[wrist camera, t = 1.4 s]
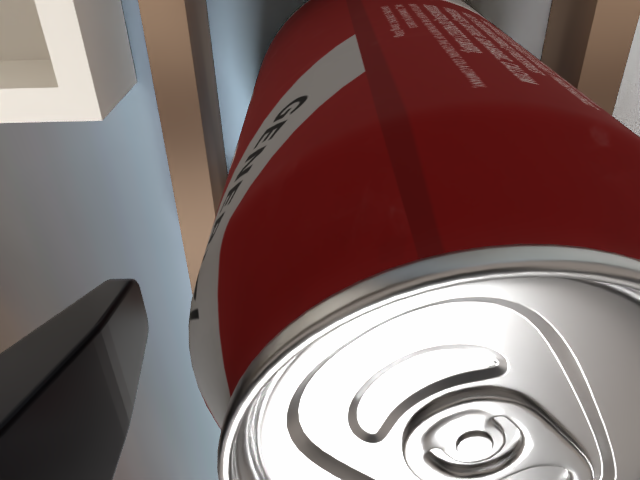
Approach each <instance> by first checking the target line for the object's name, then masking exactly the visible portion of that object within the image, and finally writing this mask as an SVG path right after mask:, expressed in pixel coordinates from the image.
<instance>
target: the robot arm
mask: <svg viewBox="0 0 640 480" xmlns="http://www.w3.org/2000/svg"><path fill="white" fill-rule="evenodd" d="M148 331H149V325H148V318H147V314H146V310H145V306H144V302H143V298H142V294H141V290H140V287H139V284H138V283H137V281H136V280H134V279H109V280H107V281H105V282H103V283H102V284H101V285H99V286H98V287H96V288H95V289H93V290H92V291H90V292H89V293H88V294H86V295H85V296H83V297H82V298H80V299H79V300H77V301H76V302H75V303H73V304H72V305H70V306H69V307H67V308H66V309H64V310H63V311H61V312H60V313H59V314H57V315H56V316H54V317H53V318H51V319H50V320H48V321H47V322H46V323H44V324H43V325H41V326H40V327H38V328H37V329H35V330H34V331H33V332H31V333H30V334H28V335H27V336H25V337H24V338H22V339H21V340H20V341H18V342H17V343H15V344H14V345H12V346H11V347H9V348H8V349H7V350H5V351H4V352H2V353H1V354H0V480H113V477H114V474H115V471H116V468H117V464H118V461H119V458H120V455H121V452H122V449H123V446H124V443H125V440H126V437H127V433H128V430H129V426H130V423H131V418H132V414H133V409H134V404H135V399H136V394H137V389H138V384H139V379H140V374H141V369H142V364H143V359H144V354H145V349H146V344H147V339H148Z"/></svg>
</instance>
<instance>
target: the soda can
mask: <svg viewBox="0 0 640 480" xmlns="http://www.w3.org/2000/svg"><path fill="white" fill-rule="evenodd" d="M189 349H190V355H191V362H192V367H193V371H194V374H195V378H196V381H197V384H198V387H199V390H200V392H201V394H202V396H203V399H204V401H205V403H206V406H207V407H208V409H209V411H210V413H211V414H212V416H213V418H214V419H215V421H216V423H217V424H218V426H219V427H220V429H221V434H220V440H219V446H218V464H217V468H218V478H219V480H640V137H639V136H637V135H636V134H635V133H633V132H632V131H631V130H629V129H628V128H627V127H626V126H624V125H623V124H622V123H620V122H619V121H618V120H616V119H615V118H614V117H613V116H611V115H610V114H609V113H607V112H606V111H605V110H604V109H602V108H601V107H600V106H598V105H597V104H596V103H594V102H593V101H592V100H591V99H589V98H588V97H587V96H585V95H584V94H583V93H582V92H580V91H579V90H578V89H576V88H575V87H574V86H572V85H571V84H570V83H569V82H567V81H566V80H565V79H563V78H562V77H561V76H559V75H558V74H557V73H556V72H554V71H553V70H552V69H550V68H549V67H548V66H547V65H545V64H544V63H543V62H541V61H540V60H539V59H537V58H536V57H535V56H534V55H532V54H531V53H530V52H528V51H527V50H526V49H525V48H523V47H522V46H521V45H519V44H518V43H517V42H515V41H514V40H513V39H512V38H510V37H509V36H508V35H506V34H505V33H504V32H502V31H501V30H500V29H499V28H497V27H496V26H495V25H493V24H492V23H491V22H490V21H488V20H487V19H486V18H484V17H483V16H482V15H480V14H479V13H478V12H477V11H475V10H474V9H473V8H471V7H470V6H469V5H468V4H466V3H465V2H464V1H462V0H308V1H307V2H306V3H304V4H303V5H302V6H301V7H300V8H299V9H297V10H296V11H295V12H294V13H293V14H292V15H291V16H290V17H289V19H288V20H287V21H286V22H285V23H284V24H283V26H282V27H281V28H280V30H279V31H278V32H277V34H276V36H275V37H274V39H273V40H272V42H271V44H270V46H269V48H268V50H267V52H266V54H265V56H264V59H263V62H262V65H261V67H260V71H259V74H258V77H257V81H256V84H255V87H254V91H253V94H252V97H251V101H250V104H249V107H248V111H247V114H246V117H245V121H244V124H243V127H242V131H241V134H240V137H239V141H238V144H237V147H236V151H235V154H234V157H233V161H232V164H231V167H230V170H229V174H228V177H227V180H226V184H225V187H224V190H223V194H222V197H221V200H220V204H219V207H218V210H217V214H216V217H215V220H214V224H213V227H212V230H211V234H210V237H209V240H208V244H207V247H206V250H205V254H204V257H203V260H202V264H201V267H200V270H199V274H198V277H197V281H196V285H195V289H194V293H193V297H192V301H191V309H190V318H189Z"/></svg>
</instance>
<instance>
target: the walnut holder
mask: <svg viewBox="0 0 640 480" xmlns="http://www.w3.org/2000/svg"><path fill="white" fill-rule="evenodd" d="M138 3H139V9H140V14H141V19H142V25H143V30H144V35H145V41H146V46H147V52H148V57H149V62H150V68H151V73H152V79H153V84H154V89H155V95H156V100H157V105H158V111H159V116H160V122H161V127H162V132H163V138H164V143H165V148H166V154H167V159H168V165H169V170H170V175H171V181H172V186H173V191H174V197H175V202H176V208H177V213H178V218H179V224H180V229H181V235H182V240H183V245H184V251H185V256H186V261H187V267H188V272H189V278H190V283H191V288H192V294H193V293H194V289H195V285H196V281H197V277H198V274H199V270H200V267H201V264H202V260H203V257H204V254H205V250H206V247H207V244H208V240H209V237H210V234H211V230H212V227H213V224H214V220H215V217H216V214H217V210H218V207H219V204H220V200H221V197H222V194H223V190H224V187H225V184H226V180H227V177H228V174H227V166H226V158H225V150H224V142H223V134H222V126H221V118H220V110H219V102H218V94H217V86H216V78H215V70H214V62H213V54H212V45H211V37H210V29H209V21H208V13H207V5H206V0H138ZM639 15H640V0H552V5H551V10H550V16H549V21H548V26H547V31H546V36H545V42H544V47H543V52H542V57H541V62H543V63H544V64H545V65H547V66H548V67H549V68H550V69H552V70H553V71H554V72H556V73H557V74H558V75H559V76H561V77H562V78H563V79H565V80H566V81H567V82H569V83H570V84H571V85H572V86H574V87H575V88H576V89H578V90H579V91H580V92H582V93H583V94H584V95H585V96H587V97H588V98H589V99H591V100H592V101H593V102H594V103H596V104H597V105H598V106H600V107H601V108H602V109H604V110H605V111H606V112H607V113H609V114H610V115H611V116H612V113H613V110H614V106H615V103H616V99H617V95H618V92H619V88H620V84H621V81H622V77H623V73H624V70H625V66H626V62H627V59H628V55H629V52H630V48H631V44H632V41H633V37H634V33H635V30H636V26H637V22H638V19H639Z"/></svg>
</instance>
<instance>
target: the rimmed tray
mask: <svg viewBox="0 0 640 480" xmlns="http://www.w3.org/2000/svg"><path fill="white" fill-rule="evenodd" d="M136 83H137V79H136V74H135V69H134V64H133V59H132V54H131V49H130V44H129V39H128V34H127V29H126V24H125V19H124V14H123V9H122V4H121V0H0V123H20V122H62V121H102V120H103V119H104V118H105V117H106V116H107V115H108V114H109V113H110V112H111V110H112V109H113V108H114V107H115V106H116V105H117V104H118V103H119V102H120V101H121V99H122V98H123V97H124V96H125V95H126V94H127V93H128V92H129V91H130V90H131V88H132V87H133V86H134V85H135V84H136Z"/></svg>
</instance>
